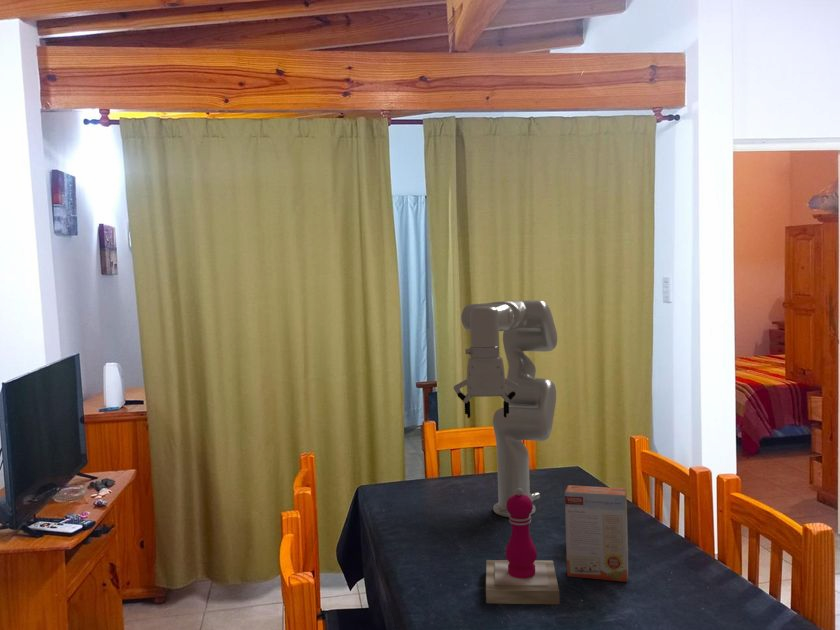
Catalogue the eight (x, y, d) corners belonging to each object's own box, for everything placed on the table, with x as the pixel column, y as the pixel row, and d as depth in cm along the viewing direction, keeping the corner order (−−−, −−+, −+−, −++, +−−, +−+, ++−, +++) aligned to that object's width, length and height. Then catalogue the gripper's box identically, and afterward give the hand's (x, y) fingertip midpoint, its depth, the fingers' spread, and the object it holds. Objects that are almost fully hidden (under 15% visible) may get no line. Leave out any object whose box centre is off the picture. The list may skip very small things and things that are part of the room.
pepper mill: (536, 580, 161) (534, 493, 160) (504, 578, 163) (501, 493, 161) (538, 566, 168) (535, 483, 167) (507, 565, 170) (504, 483, 168)
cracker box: (628, 572, 171) (627, 487, 170) (627, 583, 166) (626, 495, 164) (569, 566, 176) (567, 483, 174) (566, 577, 170) (564, 491, 169)
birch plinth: (486, 572, 174) (486, 558, 174) (553, 572, 173) (552, 558, 172) (486, 603, 158) (485, 588, 158) (559, 604, 157) (559, 589, 156)
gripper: (451, 355, 186) (453, 420, 188) (518, 354, 185) (520, 419, 186) (453, 351, 194) (455, 414, 195) (517, 350, 192) (519, 413, 193)
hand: (487, 416), depth 190 cm, fingers open, 9 cm apart
